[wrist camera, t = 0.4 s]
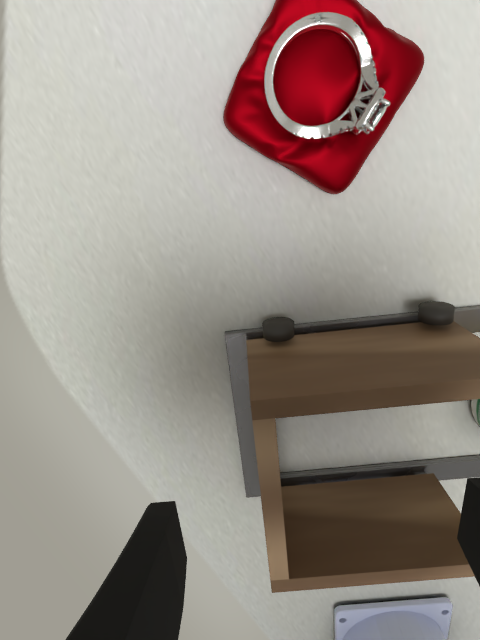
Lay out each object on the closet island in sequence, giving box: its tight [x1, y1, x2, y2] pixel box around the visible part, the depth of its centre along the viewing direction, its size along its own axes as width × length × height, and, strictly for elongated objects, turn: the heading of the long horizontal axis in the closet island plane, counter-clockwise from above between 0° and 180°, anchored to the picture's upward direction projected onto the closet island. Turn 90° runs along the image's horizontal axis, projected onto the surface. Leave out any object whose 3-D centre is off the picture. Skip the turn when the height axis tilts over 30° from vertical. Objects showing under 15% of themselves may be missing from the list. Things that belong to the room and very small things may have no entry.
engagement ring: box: [224, 0, 424, 194], centre depth 13 cm, size 6×6×3 cm
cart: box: [246, 301, 480, 593], centre depth 16 cm, size 12×10×5 cm
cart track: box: [225, 306, 480, 497], centre depth 19 cm, size 10×22×1 cm, turn 96°
